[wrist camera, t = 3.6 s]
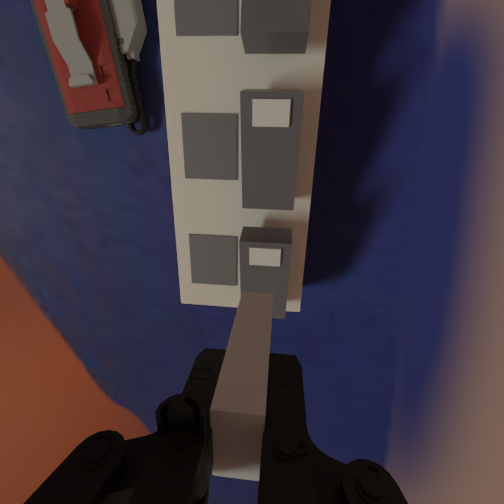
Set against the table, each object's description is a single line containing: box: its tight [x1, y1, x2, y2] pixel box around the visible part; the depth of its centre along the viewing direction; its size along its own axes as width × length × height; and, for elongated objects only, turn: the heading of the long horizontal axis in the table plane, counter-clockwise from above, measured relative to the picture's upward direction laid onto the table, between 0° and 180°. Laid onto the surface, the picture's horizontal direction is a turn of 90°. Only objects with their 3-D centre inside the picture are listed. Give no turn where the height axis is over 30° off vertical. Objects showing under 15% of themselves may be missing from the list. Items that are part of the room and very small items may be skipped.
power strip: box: [156, 0, 331, 312], centre depth 24 cm, size 33×12×5 cm, turn 179°
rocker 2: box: [240, 89, 304, 210], centre depth 21 cm, size 8×4×3 cm, turn 178°
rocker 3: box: [239, 226, 292, 319], centre depth 24 cm, size 8×4×3 cm, turn 178°
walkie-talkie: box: [30, 0, 147, 135], centre depth 23 cm, size 9×4×20 cm
